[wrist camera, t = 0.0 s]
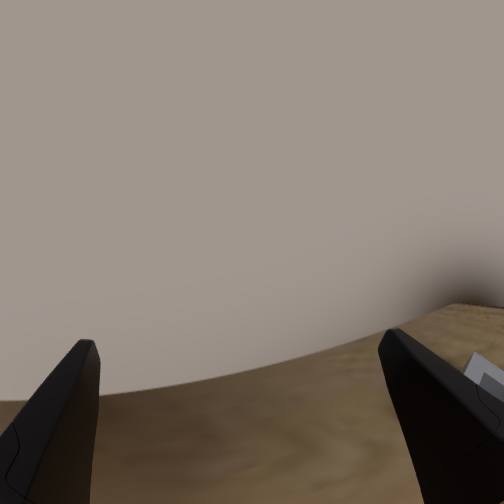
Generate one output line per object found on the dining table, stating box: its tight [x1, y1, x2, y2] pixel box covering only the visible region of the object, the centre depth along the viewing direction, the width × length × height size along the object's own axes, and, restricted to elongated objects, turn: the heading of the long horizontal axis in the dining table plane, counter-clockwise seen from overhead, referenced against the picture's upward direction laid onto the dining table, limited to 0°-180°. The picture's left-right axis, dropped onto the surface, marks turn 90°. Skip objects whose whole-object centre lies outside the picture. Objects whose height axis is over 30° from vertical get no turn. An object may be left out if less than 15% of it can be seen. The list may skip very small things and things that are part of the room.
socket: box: [460, 352, 504, 402], centre depth 21 cm, size 10×10×4 cm
